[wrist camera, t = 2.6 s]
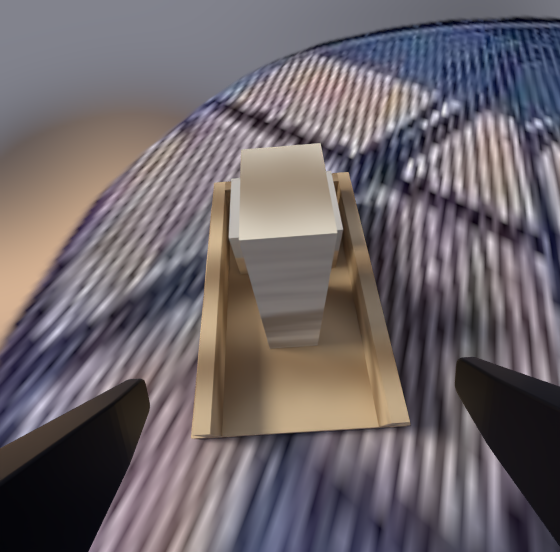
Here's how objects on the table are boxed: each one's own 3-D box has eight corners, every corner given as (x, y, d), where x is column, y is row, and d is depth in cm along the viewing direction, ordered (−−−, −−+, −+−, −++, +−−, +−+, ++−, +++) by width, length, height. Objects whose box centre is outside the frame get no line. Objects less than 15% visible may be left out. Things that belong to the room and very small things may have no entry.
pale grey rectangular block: (317, 345, 22) (337, 233, 10) (269, 348, 22) (238, 240, 11) (310, 285, 24) (320, 143, 13) (267, 288, 24) (240, 149, 13)
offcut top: (338, 250, 23) (343, 229, 21) (235, 258, 23) (228, 238, 21) (328, 194, 26) (331, 171, 24) (237, 201, 26) (231, 178, 24)
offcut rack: (405, 426, 20) (428, 420, 16) (195, 438, 20) (174, 436, 16) (352, 203, 30) (359, 171, 26) (214, 214, 30) (203, 183, 27)
